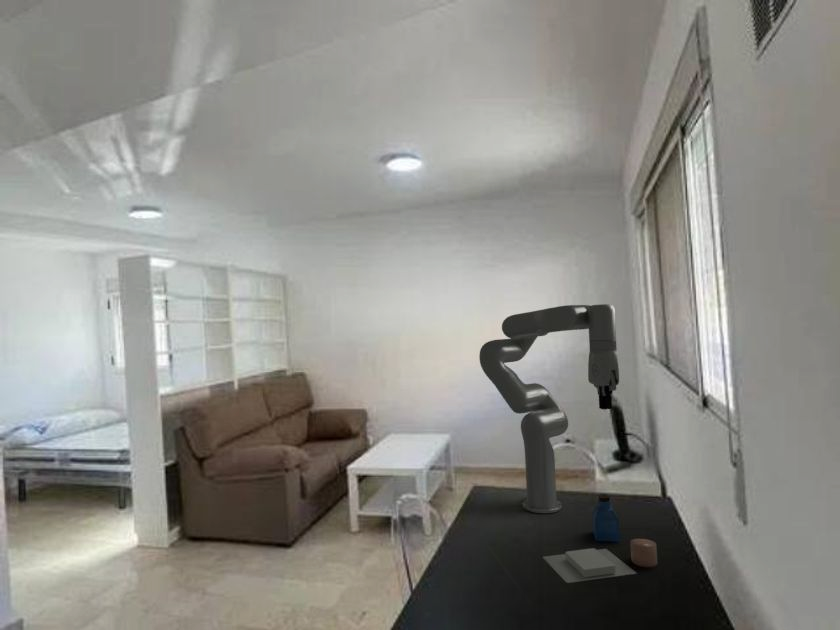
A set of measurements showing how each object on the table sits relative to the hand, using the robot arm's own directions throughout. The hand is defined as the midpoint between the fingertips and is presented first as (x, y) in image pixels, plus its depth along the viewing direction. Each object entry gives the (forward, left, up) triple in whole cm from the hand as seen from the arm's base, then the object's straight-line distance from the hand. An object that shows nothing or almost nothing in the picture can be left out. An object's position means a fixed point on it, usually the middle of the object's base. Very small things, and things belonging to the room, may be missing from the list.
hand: (605, 408), depth 154 cm
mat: (+20, -18, -35) cm, 44 cm away
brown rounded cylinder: (+22, -4, -35) cm, 42 cm away
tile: (+16, -18, -34) cm, 41 cm away
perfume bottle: (+6, -5, -35) cm, 36 cm away
